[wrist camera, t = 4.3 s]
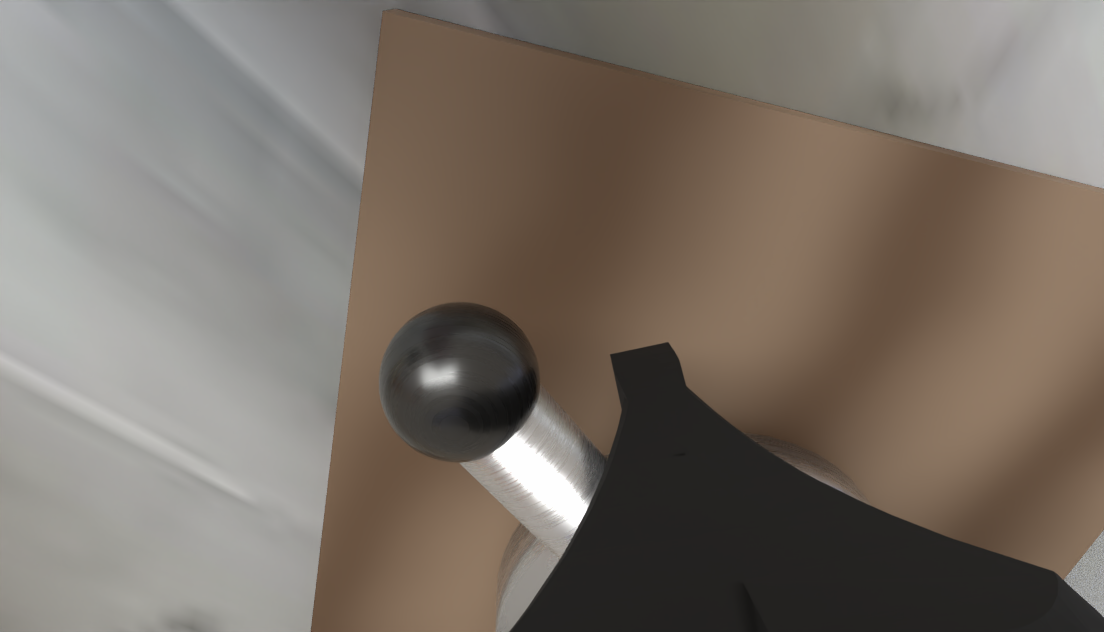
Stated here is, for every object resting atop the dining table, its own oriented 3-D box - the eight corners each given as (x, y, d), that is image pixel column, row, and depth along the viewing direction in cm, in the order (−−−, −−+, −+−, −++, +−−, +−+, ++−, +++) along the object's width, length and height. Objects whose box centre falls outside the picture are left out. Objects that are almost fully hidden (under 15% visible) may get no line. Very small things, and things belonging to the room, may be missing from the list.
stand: (1263, 229, 14) (1392, 271, 12) (853, 780, 22) (887, 859, 20) (395, 8, 11) (368, 13, 9) (306, 731, 20) (282, 817, 18)
